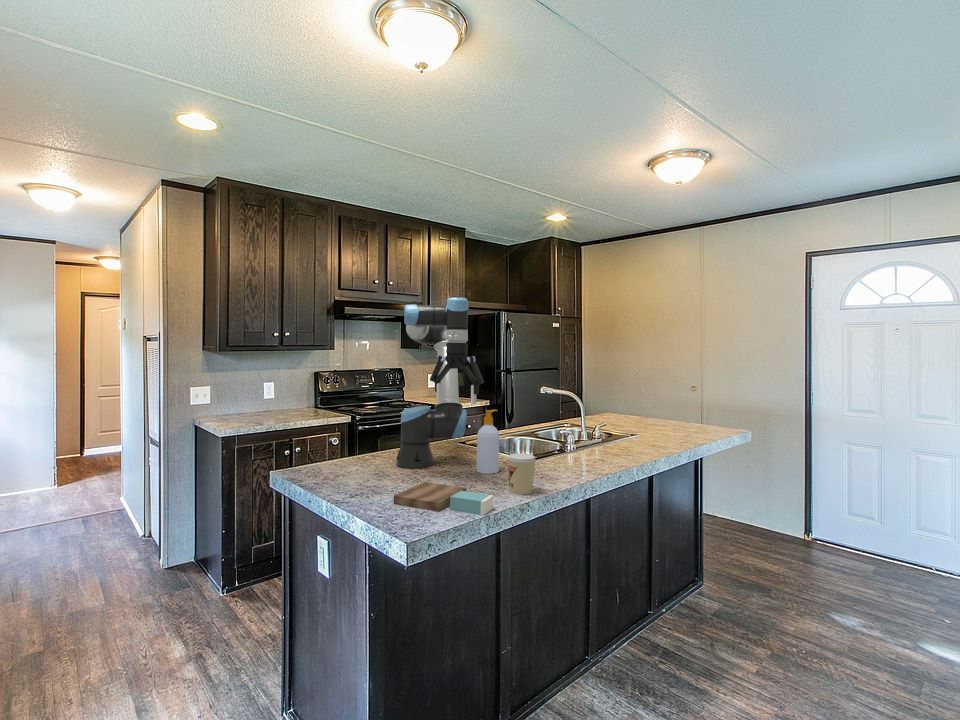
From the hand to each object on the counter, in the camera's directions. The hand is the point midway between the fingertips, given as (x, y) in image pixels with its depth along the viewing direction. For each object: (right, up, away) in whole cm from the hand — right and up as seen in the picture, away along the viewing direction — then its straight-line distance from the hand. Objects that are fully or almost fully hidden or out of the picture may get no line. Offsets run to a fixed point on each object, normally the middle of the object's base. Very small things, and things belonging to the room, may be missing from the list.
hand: (456, 402), depth 182 cm
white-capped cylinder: (+22, -30, -8) cm, 38 cm away
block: (+1, -28, -24) cm, 37 cm away
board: (-7, -29, -18) cm, 35 cm away
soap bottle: (+12, -29, +19) cm, 36 cm away
